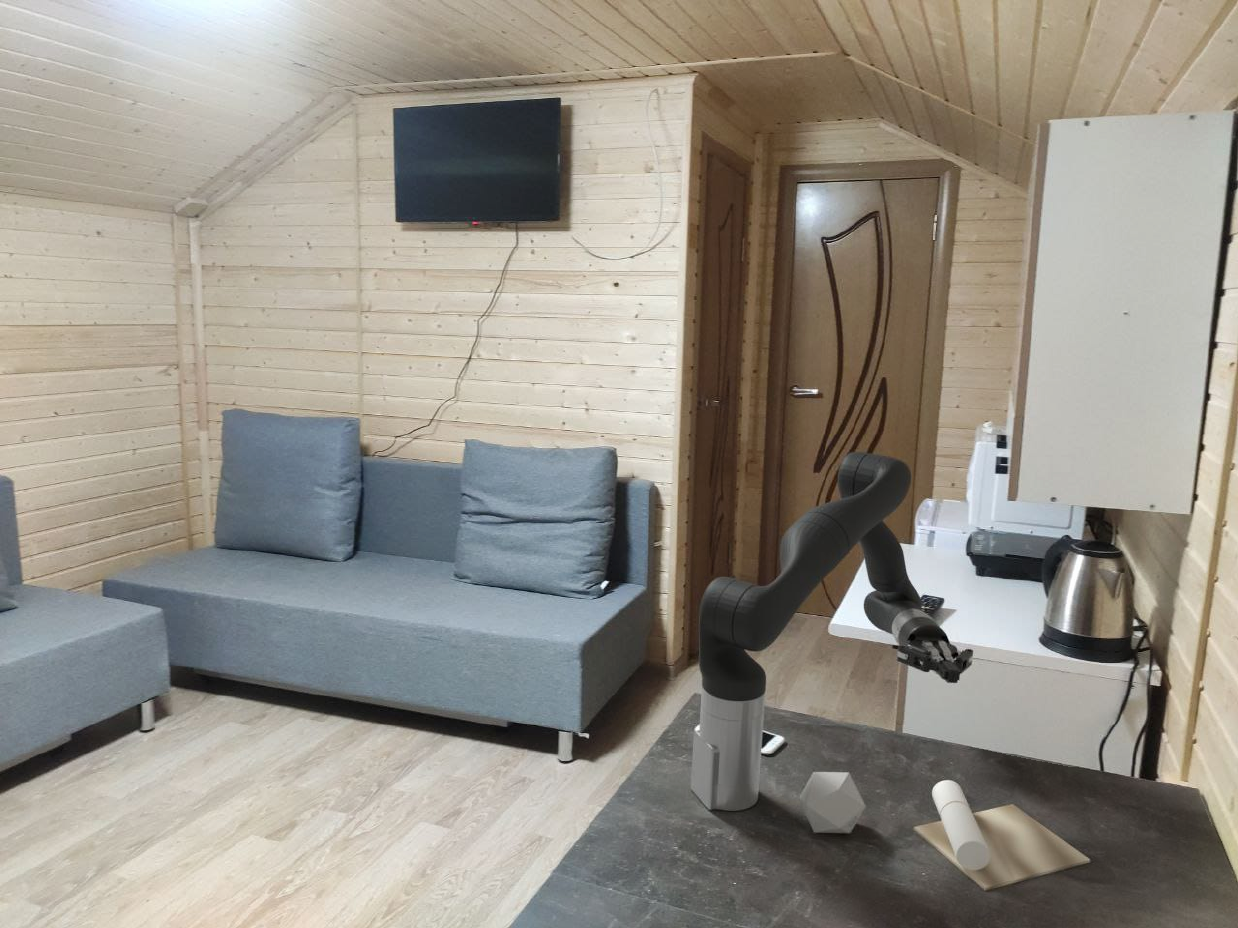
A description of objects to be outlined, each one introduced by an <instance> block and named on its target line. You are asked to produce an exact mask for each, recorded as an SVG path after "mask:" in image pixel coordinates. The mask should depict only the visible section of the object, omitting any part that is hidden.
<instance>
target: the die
mask: <svg viewBox="0 0 1238 928" xmlns="http://www.w3.org/2000/svg"><path fill="white" fill-rule="evenodd" d="M798 799H799V802H800V805H801V806H802V808H803V811H804V813H805V816H806V818H807V820H808V822H809V824H810V826H811V829H812V831H813V833H815V834H817V833H819V834H820V833H821V834H826V833H827V834H851V832H852V831H853V829H854V828H855V826H856V825H857V822H858V821H859V819H860V817H861V816H862V814H863V812H864V810H865V809H866V807H867V806H866V805H865V801H864V800H863V799H862V796H861V794H860V792H859V790H858V788H857V785H856V784H855V782H854V780H853V777H852V775H851V774H850V772H847V771H846V772H842V771H841V772H838V771H837V772H836V771H813V772H812V774H811V775H810V777H809V779H808V781H807V783H806V784H805V786H804V789H803V790H802V792H801V794H800V796H799V797H798Z"/></svg>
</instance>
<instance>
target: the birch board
mask: <svg viewBox="0 0 1238 928" xmlns="http://www.w3.org/2000/svg"><path fill="white" fill-rule="evenodd" d="M972 814H973V816H974V818H975V820H976V822H977V825H978V827H979V829H980V831H981V834H982V836H983V838H984V840H985V843H986V845H987V847H988V849H989V852H990V860H989V862H988V864H987V865H986V866H985V867H984V868H982V869H979V870H967V869H965V868H963V867H962V866H961V865H960V864H959V863H958V861H957V859H956V856H955V853H954V851H953V848H952V846H951V843H950V840H949V838H948V835H947V833H946V830H945V828H944V825H943V822H942V820H938V821H934V822H929V823H926V824H920V825H917V826H913V831H915V833H917V835H919V836H920V837H922V838H923V839H924V840H925V841H926V842H927V843H929V844H930V845H931V846H932V847H933V848H934V849H936V850H937V851H938V852H940V854H941V855H943V856H944V857H945V858H946V859H947V860H948V861H950V863H952V864H953V865H954V866H956V867H957V868H958V869H959V870H960V871H961V872H962V873H964V874H965V876H966V875H967V877H968V878H970V880H971V881H973V882H974V883H976V884H977V885H978V886H979V887H980V888H981V889H982V890H984V891H985V892H986V891H988V890H989V891H990V890H993V889H996V888H997V889H998V888H1001V887H1004V886H1007V885H1011V884H1015V883H1019V882H1022V881H1026V880H1030V879H1034V878H1038V877H1040V876H1043V875H1048V874H1053V873H1056V872H1058V871H1059V872H1060V871H1063V870H1066V869H1070V868H1074V867H1077V866H1081V865H1085V864H1088V863H1091V859H1090V858H1089V857H1087V856H1086V855H1085V854H1083V853H1082V852H1080V851H1079V850H1078V849H1076V848H1075V847H1073V846H1072V845H1070V844H1069V842H1066V841H1065V840H1063V839H1062V838H1061V837H1060V836H1058V835H1056V833H1054V832H1052V831H1050V829H1048V828H1047V827H1045V826H1044V825H1042V824H1041V823H1040V822H1039V821H1037V820H1035V819H1034V818H1032V817H1031V816H1030V815H1028V814H1027V813H1026V812H1024V811H1022V809H1020V808H1019V807H1018V806H1016V805H1015V804H1007V805H1002V806H998V807H994V808H990V809H986V810H981V811H977V812H974V813H973V812H972Z"/></svg>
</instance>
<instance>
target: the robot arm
mask: <svg viewBox="0 0 1238 928" xmlns="http://www.w3.org/2000/svg"><path fill="white" fill-rule="evenodd" d="M911 483H912V474H911V470H910V467H909V465H907V463H905V462H904V461H903V460H900V459H898V458H896V457H892V456H887V455H881V454H876V453H870V452H863V451H852V452H850V453H848V454H847V455H846V456H845V457H844V459H843V460H842V461H841V464H840V466H839V469H838V474H837V488H838V492H839V496H840V499H839V498H838V499H836V500H832V501H829V502H825V503H823V504H819V505H817V506H814V507H812V508H811V509H809V510H807V511H806V512H805V513H803V514H802V515H801V516H800V517H799V518H798V519H797V520H796V521H795V522H794V523H792V525H791V526H790V527H789V528H788V529H787V530H786V531H785V533H784V534H783V536H782V539H781V542H780V547H779V561H780V574H779V575H778V576H777V577H776V578H775V579H774V580H773V581H772V582H770V584H767V585H758V584H755V583H751V582H748V581H745V580H741V579H736V578H733V577H729V576H719V577H716V578H714V579H713V580H712V581H711V582H710V583H709V584H708V586H707V587H706V588H705V590H704V593H703V595H702V598H701V602H700V606H699V617H698V667H699V671H700V673H701V679H702V680H701V693H700V694H701V697H700V714H699V715H700V717H699V730H695V731H694V732H693V741H692V742H693V745H692V759H691V760H692V761H691V780H690V781H691V782H690V789H691V791H692V792H693V793H694V794H695V796H696V797H697V798H698V799H699V800H700V801H701V802H702V804H703V805H704V806H705V807H706V809H707V810H710V811H712V810H721V811H729V812H736V811H743V810H746V809H748V808H751V807H753V806H754V805H755V804H757V802H758V799H759V787H760V777H761V776H760V774H761V773H760V772H761V760H762V759H761V758H762V745H763V730H764V717H765V716H764V715H765V704H766V701H765V700H766V689H767V674H766V671H765V670H764V667H762V665H761V664H759V663H758V662H757V661H756V660H755V659H754V658H753V657H752V656H750V655H749V654H748V652H747V651H749V652H756V653H757V652H761V651H764V650H766V649H768V648H769V647H770V646H771V645H772V644H773V643H774V642H775V641H777V639H778V637H780V635H781V634H782V632H783V631H784V630H785V628H786V627H787V626H788V624H789V623H790V622H791V620H793V617H794V616H795V614H796V613H797V612H798V611H799V609H800V608H801V606H802V605H803V604H804V602H805V601H806V599H807V598H808V597H810V595H811V594H812V593H813V591H815V589H816V588H817V587H818V586H819V585H820V583H821V582H822V581H823V580H824V579H825V578H826V577H827V576H828V575H829V574H830V573H831V572H833V570H834V569H836V567H837V566H838V565H839V564H840V563H841V562H842V561H843V560H844V559H845V558H846V557H847V555H848V554H849V553H850V552H851V550H852V549H853V548H854V547H856V545H857V544H858V543H859V544H860V547H861V549H862V553H863V558H864V563H865V569H866V573H867V574H866V575H867V578H868V581H869V584H870V586H871V587H872V589H874V590H873V591H871V592H870V593H869V592H868V594H867V595H866V596H865V597H864V600H863V611H864V614H865V616H866V618H867V619H868V620H869V622H870V623H871V625H873V626H874V627H876V629H878V630H880V631H882V632H886V633H888V634H890V635H892V637H893V638H894V640H895V642H896V644H897V645H898V649H897V657H896V661H897V662H899V663H902V664H904V665H907V666H909V667H911V668H913V669H916V670H919V671H922V672H923V673H929V672H930V671H932V672H933V673H934V674H936V675H938V676H939V677H940V678H941V679H942V680H945V682H946V683H947V684H958V681H960V678H961V677H960V676H961V674H963V673H964V672H965V671H966V670H967V669H969V668H970V667H971V666H972V665H973V658H974V657H973V656H974V650H973V649H972V648H966V649H961V650H958V648H957V646H956V645H954V644H951V642H950V640H949V638H948V635H947V634H946V632H945V630H943V628H942V627H941V626H940V625H939V624H938V623H937V622H936V621H935V620H934V619H933V618H932V617H931V616H930V615H929V614H927V613H926V612H925V611H924V610H923V609H922V607H923V604H922V603H923V602H922V599H921V596H920V594H919V593H918V591H917V589H916V588H915V586H914V585H913V584H912V581H911V580H910V578H909V575H908V572H907V566H906V561H905V554H904V549H903V548H902V545H901V543H900V541H899V539H898V538H897V536H896V534H895V533H894V532H893V531H892V530H891V529H890V527H889V526H888V525H887V524H886V522H885V521H884V520H885V519H886V518H888V517H889V516H890V515H891V514H892V513H894V512H895V511H896V510H897V509H898V507H899V506H900V505H901V504H902V502H903V501H904V500H905V498H906V496H907V494H908V492H909V490H910V487H911Z"/></svg>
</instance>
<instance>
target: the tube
mask: <svg viewBox="0 0 1238 928" xmlns="http://www.w3.org/2000/svg"><path fill="white" fill-rule="evenodd" d="M931 795H932V799H933V802H934V804H935V807H936V809H937V812H938V814H939V817H940V819H941V820H940V821H942V822H943V825H944V828H945V830H946V833H947V835H948V838H949V840H950V843H951V846H952V848H953V851H954V853H955V856H956V859H957V861H958V863H959V864H960V865H961V866H962V867H963V868H965V869H967V870H979V869H982V868H984V867H985V866H986V865H987V864H988V862H989V860H990V852H989V849H988V847H987V845H986V843H985V840H984V838H983V836H982V834H981V831H980V829H979V827H978V825H977V822H976V820H975V818H974V816H973V814H972V813H973V812H972V809H971V807H970V805H969V802H968V801H967V798H966V796H965V794H964V791H963V789H962V787H961V786H960V784H958V783H957V782H955V781H954V780H950V779H949V780H948V779H946V780H945V779H944V780H942V781H939V782H937V783H936V784H935V785H934V786H933V788H932V790H931Z"/></svg>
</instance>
